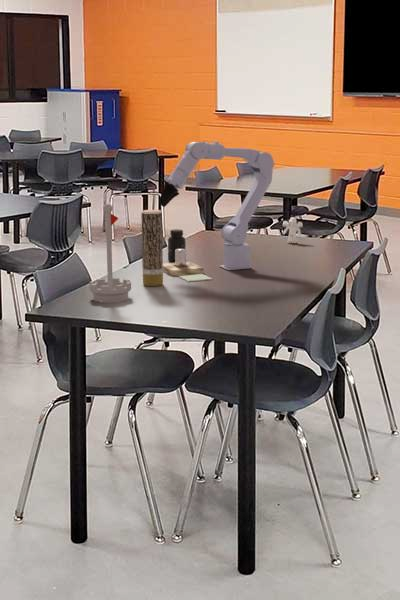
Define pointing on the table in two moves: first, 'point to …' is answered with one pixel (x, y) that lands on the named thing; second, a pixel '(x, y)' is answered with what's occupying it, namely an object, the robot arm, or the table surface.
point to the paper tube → (152, 247)
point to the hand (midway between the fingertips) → (161, 204)
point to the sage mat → (195, 277)
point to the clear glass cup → (180, 258)
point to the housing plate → (182, 269)
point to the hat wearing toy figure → (292, 228)
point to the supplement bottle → (175, 243)
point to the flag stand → (110, 271)
